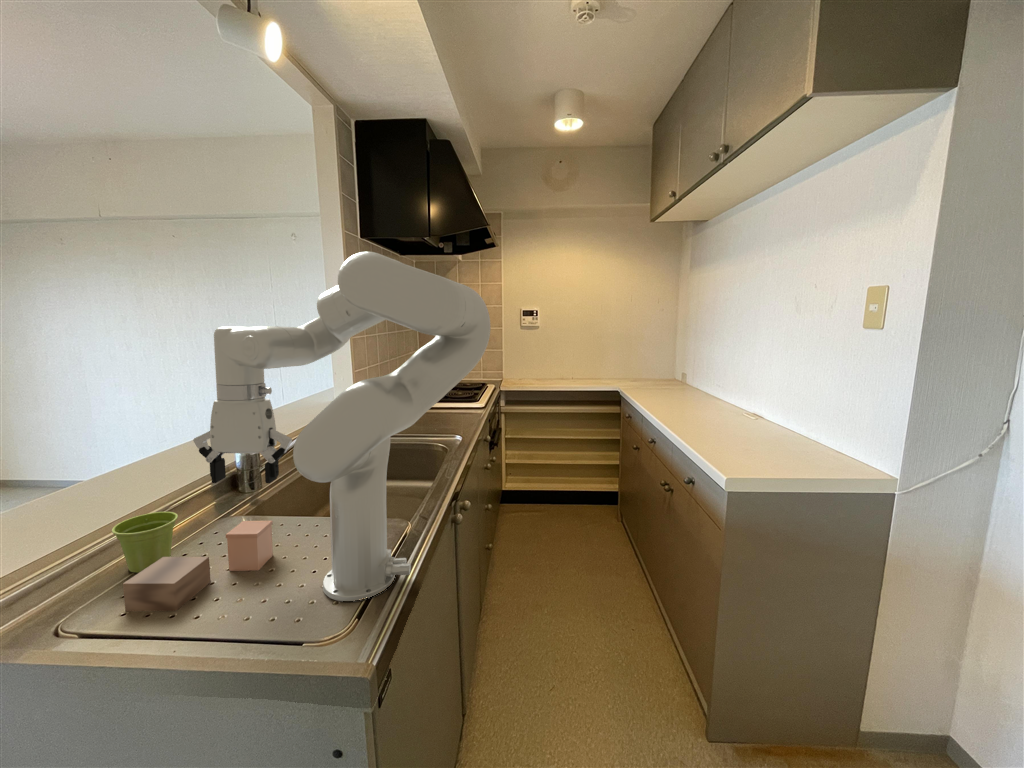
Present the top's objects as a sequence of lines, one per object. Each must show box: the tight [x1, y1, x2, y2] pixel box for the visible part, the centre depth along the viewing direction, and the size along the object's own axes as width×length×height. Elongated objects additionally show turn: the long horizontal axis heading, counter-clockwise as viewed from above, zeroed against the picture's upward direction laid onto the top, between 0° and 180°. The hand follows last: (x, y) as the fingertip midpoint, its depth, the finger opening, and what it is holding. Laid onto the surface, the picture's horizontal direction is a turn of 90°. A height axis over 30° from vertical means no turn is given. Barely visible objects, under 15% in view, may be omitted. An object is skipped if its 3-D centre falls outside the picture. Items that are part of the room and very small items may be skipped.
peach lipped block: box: [225, 520, 274, 572], centre depth 80 cm, size 6×6×7 cm
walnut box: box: [122, 556, 212, 612], centre depth 70 cm, size 8×8×5 cm
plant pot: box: [111, 511, 179, 573], centre depth 79 cm, size 9×9×9 cm
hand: (245, 480), depth 79 cm, fingers open, 9 cm apart
